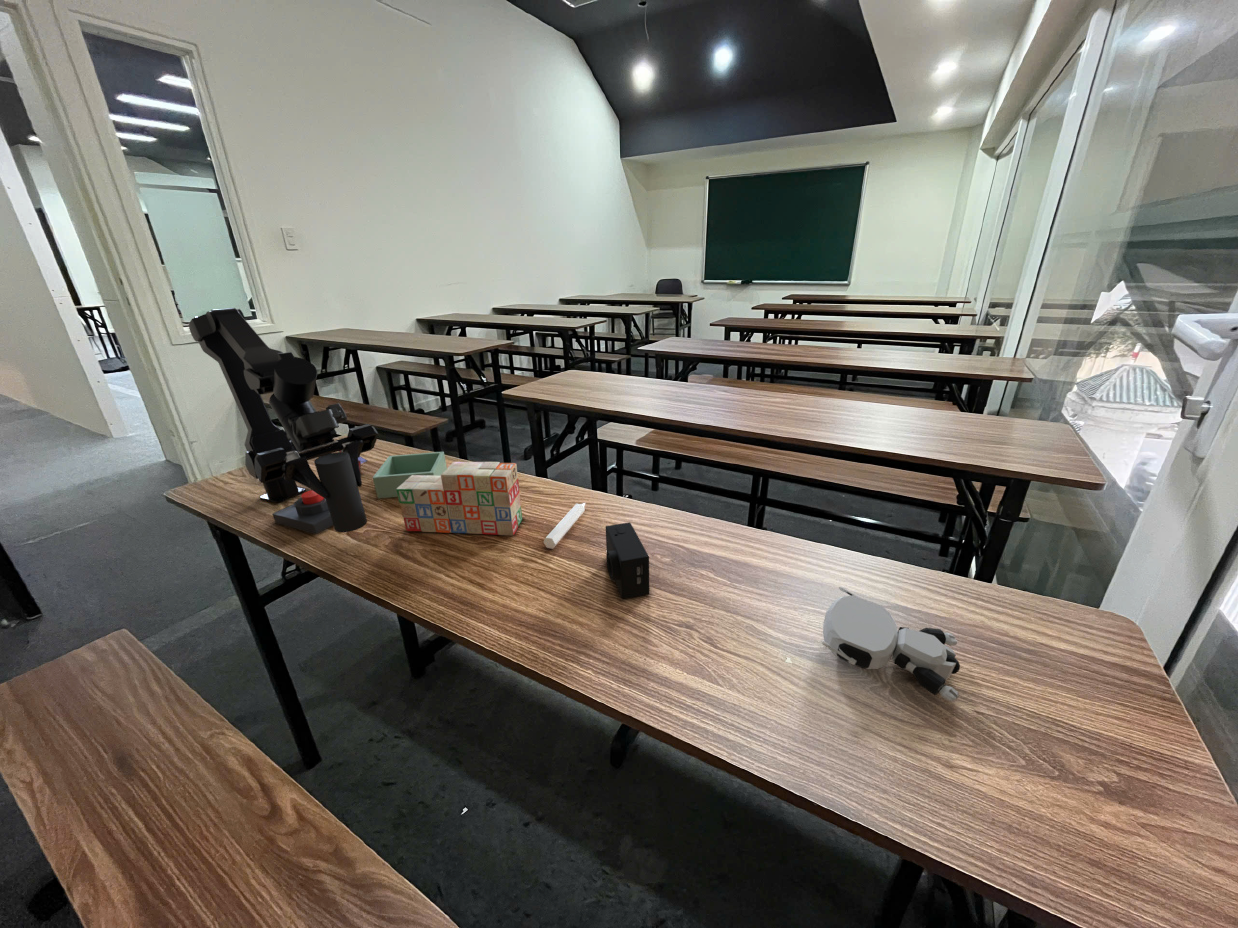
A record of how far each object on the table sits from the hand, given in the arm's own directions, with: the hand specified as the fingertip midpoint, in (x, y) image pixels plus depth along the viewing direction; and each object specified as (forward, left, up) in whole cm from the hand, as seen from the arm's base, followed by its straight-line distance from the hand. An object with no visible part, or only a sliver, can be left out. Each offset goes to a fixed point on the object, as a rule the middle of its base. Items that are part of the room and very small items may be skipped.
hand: (344, 491), depth 82 cm
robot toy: (+85, +6, -12) cm, 86 cm away
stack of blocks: (+13, +13, -12) cm, 22 cm away
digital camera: (+48, +9, -12) cm, 50 cm away
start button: (-18, +5, -8) cm, 21 cm away
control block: (-18, +5, -11) cm, 22 cm away
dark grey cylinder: (-1, 0, -7) cm, 7 cm away
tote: (-11, +24, -11) cm, 29 cm away
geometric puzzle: (-30, +23, -12) cm, 40 cm away
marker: (+32, +20, -12) cm, 39 cm away
